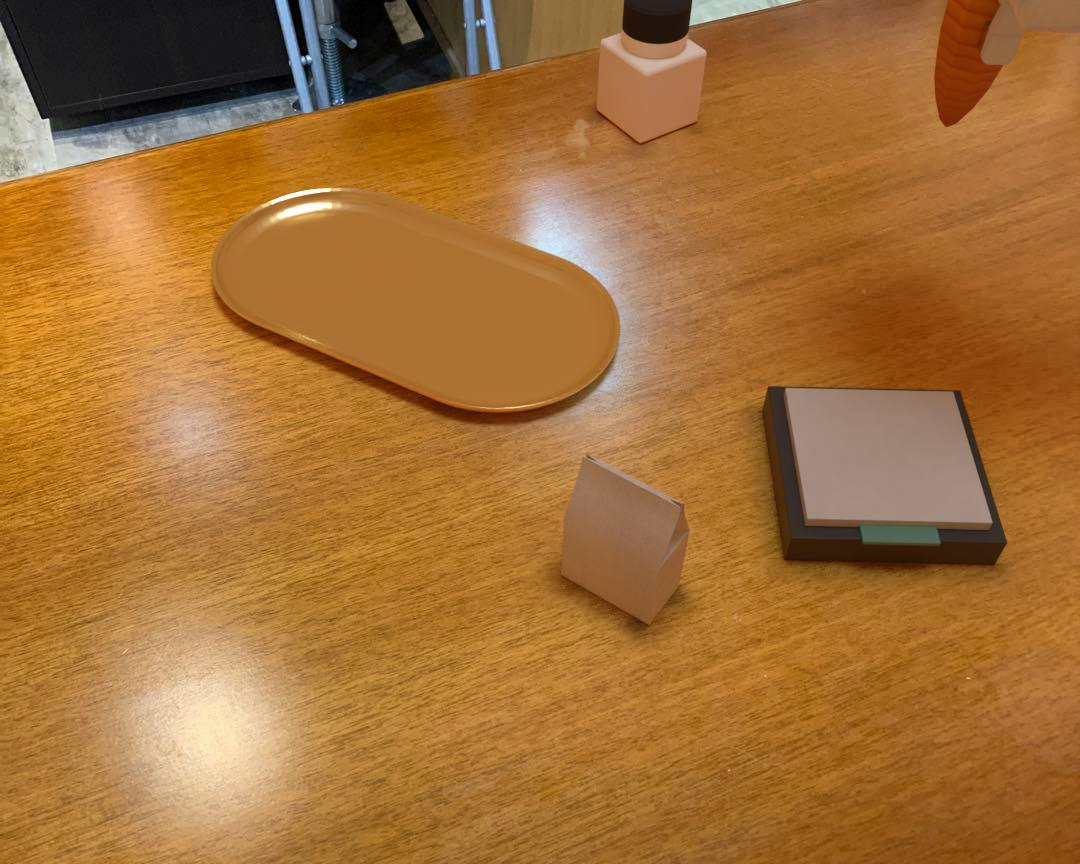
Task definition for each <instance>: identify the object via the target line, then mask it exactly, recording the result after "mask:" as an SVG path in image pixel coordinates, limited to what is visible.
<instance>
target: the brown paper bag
mask: <svg viewBox="0 0 1080 864" xmlns="http://www.w3.org/2000/svg"><path fill="white" fill-rule="evenodd" d="M690 532H691V530H690V527H689V525H688V521H687V518H686V512H685V503H684V502H681V501H679V500H677V499H676V498H673V497H672V496H670V495H668V494H666V493H664V492H662V491H659V490H658V489H657V488H654V487H652V486H650V485H648V484H647V483H645V482H642V481H640V480H639V479H637V478H635V477H633V476H631V475H629V474H627V473H625V472H624V471H621V470H620V469H617V468H615V467H614V466H612V465H610V464H608V463H606V462H604V461H602V460H600V459H598V458H596V457H595V456H593V455H591V454H589V453H585V456H582V457H581V462H580V467H579V470H578V473H577V477H576V481H575V484H574V486H573V489H572V493H571V496H570V500H569V502H568V504H567V508H566V511H565V513H564V517H563V529H562V548H561V549H562V550H561V552H562V553H561V570H560V571H561V572H560V575H561V576H562V577H564V578H565V579H567V580H568V581H570V582H573V583H574V584H576V585H578V586H580V587H581V588H583V589H585V590H587V592H590V593H591V594H593V595H595V596H597V597H599V598H600V599H602V600H603V601H606V602H607V603H609V604H611V605H613V606H614V607H616V608H618V609H620V610H621V611H623V612H625V613H626V614H629V615H631V616H632V617H634V618H636V619H637V620H639V621H641V622H643V623H645V624H646V625H648V626H650V625H651V623H652V622H653V621H654V620H655V618H656V617H657V616H658V615H659V613H660V612H661V610H662V609H663V608H664V607H665V605H666V604H667V603H668V601H670V599H671V598H672V597H673V595H674V593H676V591H677V589H678V588H679V587H680V581H681V578H682V577H681V576H682V573H683V572H682V571H683V566H684V563H685V558H686V551H687V547H688V542H689V537H690Z"/></svg>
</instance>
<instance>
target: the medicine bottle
mask: <svg viewBox="0 0 1080 864" xmlns="http://www.w3.org/2000/svg"><path fill="white" fill-rule="evenodd" d="M692 7H693V0H623V6H622V18H621V32H619V33H616V34H613V35H610V36H608V37H604V38H603V39H601V40H600V43H599V44H600V45H599V59H598V76H597V94H596V110H597V112H598V113H600V114H601V115H602V116H604V117H605V118H606V119H608V120H609V121H610V122H612V123H613V124H614V125H615V126H616V127H618V128H619V129H620V130H621V131H623V132H625V133H626V134H627V135H628V136H629V137H631V138H632V139H633V140H634V141H636V142H637V143H638V144H643V143H646V142H648V141H652V140H653V139H657V138H658V137H661V136H663V135H666V134H670V133H671V132H674V131H676V130H679V129H682V128H684V127H687V126H689V125H692V124H694V123H696V122H697V121H698V119H699V112H700V104H701V98H702V90H703V83H704V75H705V69H706V62H707V61H706V60H707V55H708V53H707V51H706V49H704V48H703V47H701V46H700V45H698V44H697V43H696V42H694V41H692V40H691V39H689V32H690V24H691V16H692V9H693V8H692Z"/></svg>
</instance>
